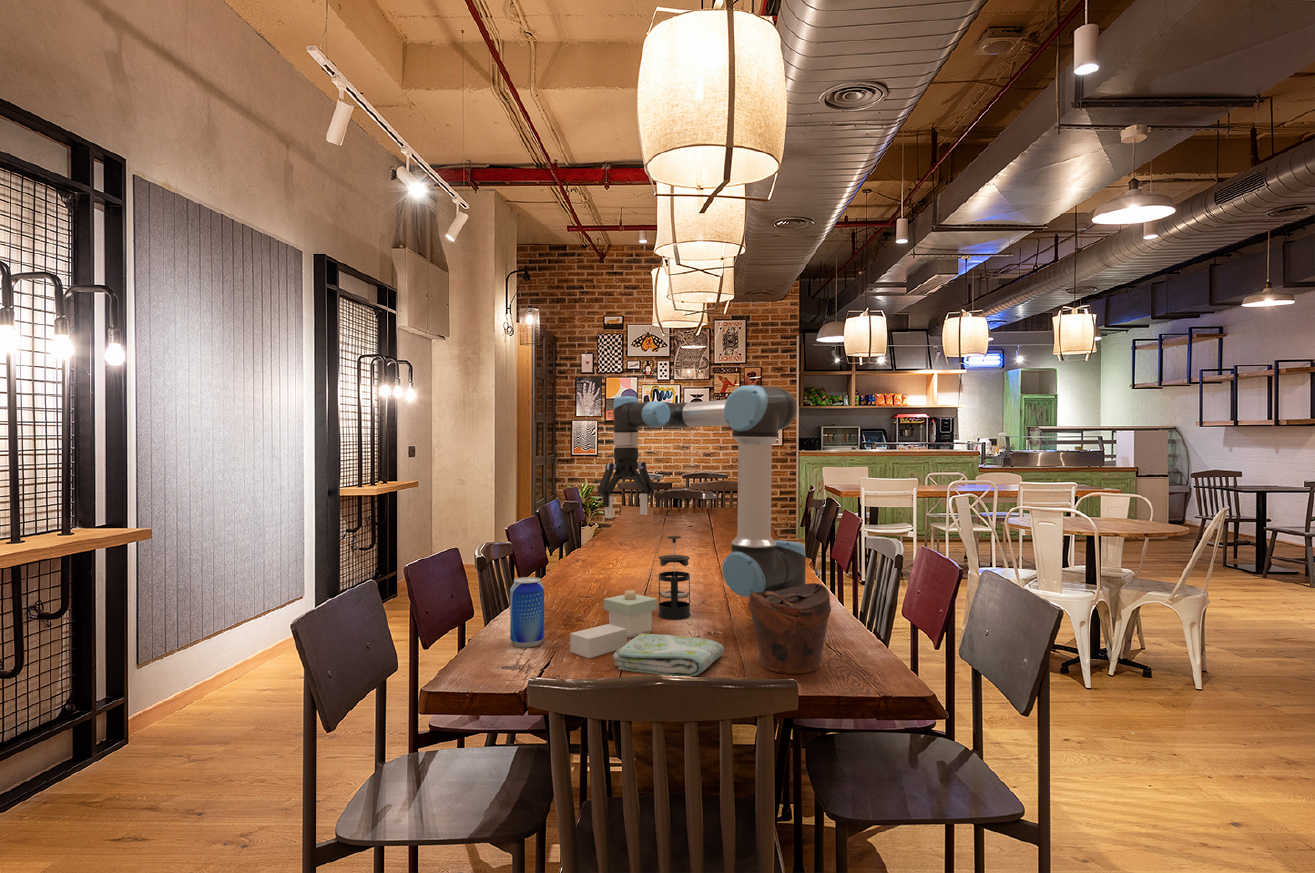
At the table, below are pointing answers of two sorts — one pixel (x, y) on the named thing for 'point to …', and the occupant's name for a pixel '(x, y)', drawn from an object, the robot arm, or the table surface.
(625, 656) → the towel
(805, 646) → the brown tapered bucket
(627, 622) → the open white box
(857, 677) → the table surface
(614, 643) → the block
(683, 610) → the french press
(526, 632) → the beer can
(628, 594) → the lid
